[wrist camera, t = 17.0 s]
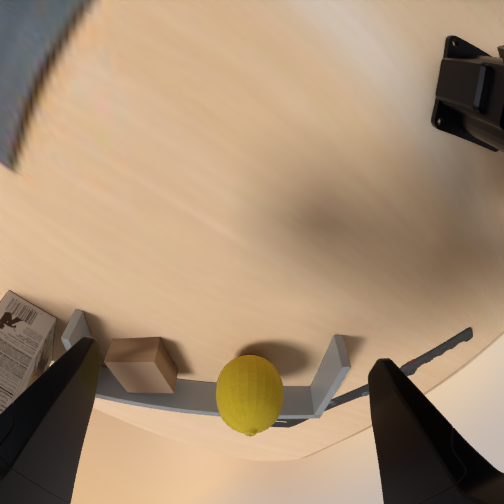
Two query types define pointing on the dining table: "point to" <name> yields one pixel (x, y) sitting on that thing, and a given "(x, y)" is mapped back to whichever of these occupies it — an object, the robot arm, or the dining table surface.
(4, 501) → the robot arm
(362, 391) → the knife
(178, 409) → the frame
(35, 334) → the coffee box
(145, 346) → the brown wooden block
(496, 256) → the dining table surface
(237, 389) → the lemon
